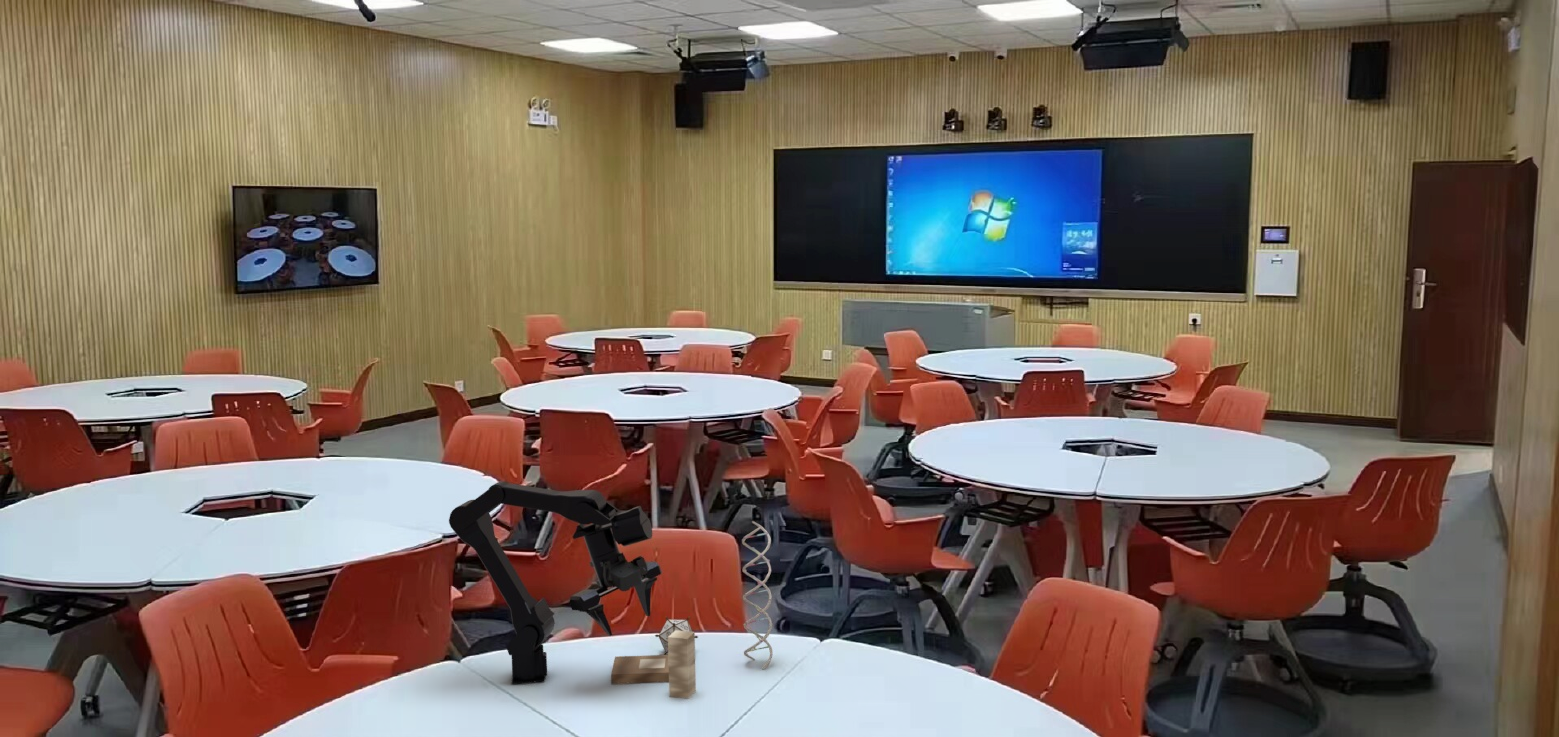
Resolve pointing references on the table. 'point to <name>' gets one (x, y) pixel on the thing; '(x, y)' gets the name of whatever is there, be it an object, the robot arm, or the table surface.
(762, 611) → the dna model
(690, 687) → the maple pillar
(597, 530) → the robot arm
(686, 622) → the game die
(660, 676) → the walnut slab
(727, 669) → the table surface
